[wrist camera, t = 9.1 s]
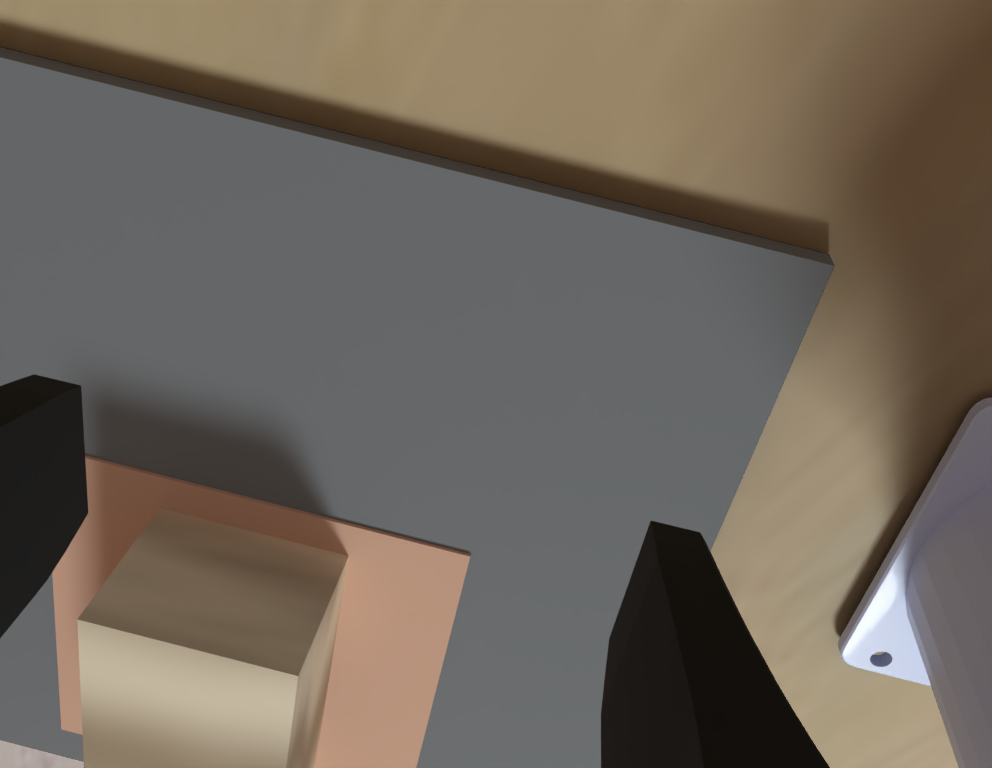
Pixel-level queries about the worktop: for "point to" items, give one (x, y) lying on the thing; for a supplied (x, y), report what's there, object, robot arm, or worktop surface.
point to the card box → (209, 649)
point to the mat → (377, 397)
